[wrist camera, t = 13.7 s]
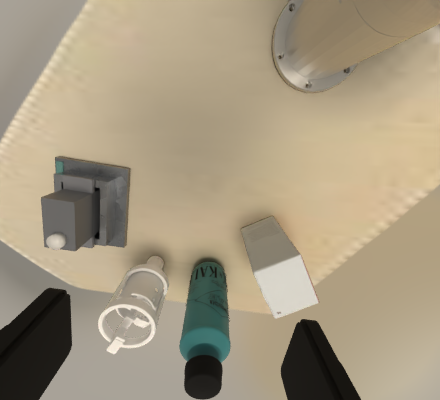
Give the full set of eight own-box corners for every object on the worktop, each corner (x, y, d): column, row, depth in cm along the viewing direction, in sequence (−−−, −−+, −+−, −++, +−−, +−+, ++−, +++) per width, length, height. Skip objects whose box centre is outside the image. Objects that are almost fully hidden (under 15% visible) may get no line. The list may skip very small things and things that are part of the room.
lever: (79, 170, 34) (33, 183, 25) (105, 174, 34) (68, 189, 26) (80, 233, 37) (39, 264, 29) (104, 236, 37) (71, 268, 29)
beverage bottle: (218, 289, 42) (221, 417, 23) (186, 278, 42) (162, 402, 23) (231, 262, 41) (246, 377, 22) (198, 250, 40) (184, 359, 21)
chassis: (59, 156, 34) (37, 160, 30) (130, 168, 35) (118, 173, 31) (62, 235, 38) (43, 249, 34) (126, 244, 39) (115, 258, 35)
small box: (288, 250, 40) (320, 304, 28) (256, 263, 41) (274, 321, 29) (273, 213, 38) (301, 254, 26) (239, 227, 39) (251, 273, 26)
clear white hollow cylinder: (129, 267, 41) (83, 341, 26) (148, 239, 39) (109, 302, 25) (162, 285, 42) (135, 364, 28) (181, 258, 40) (163, 329, 26)
